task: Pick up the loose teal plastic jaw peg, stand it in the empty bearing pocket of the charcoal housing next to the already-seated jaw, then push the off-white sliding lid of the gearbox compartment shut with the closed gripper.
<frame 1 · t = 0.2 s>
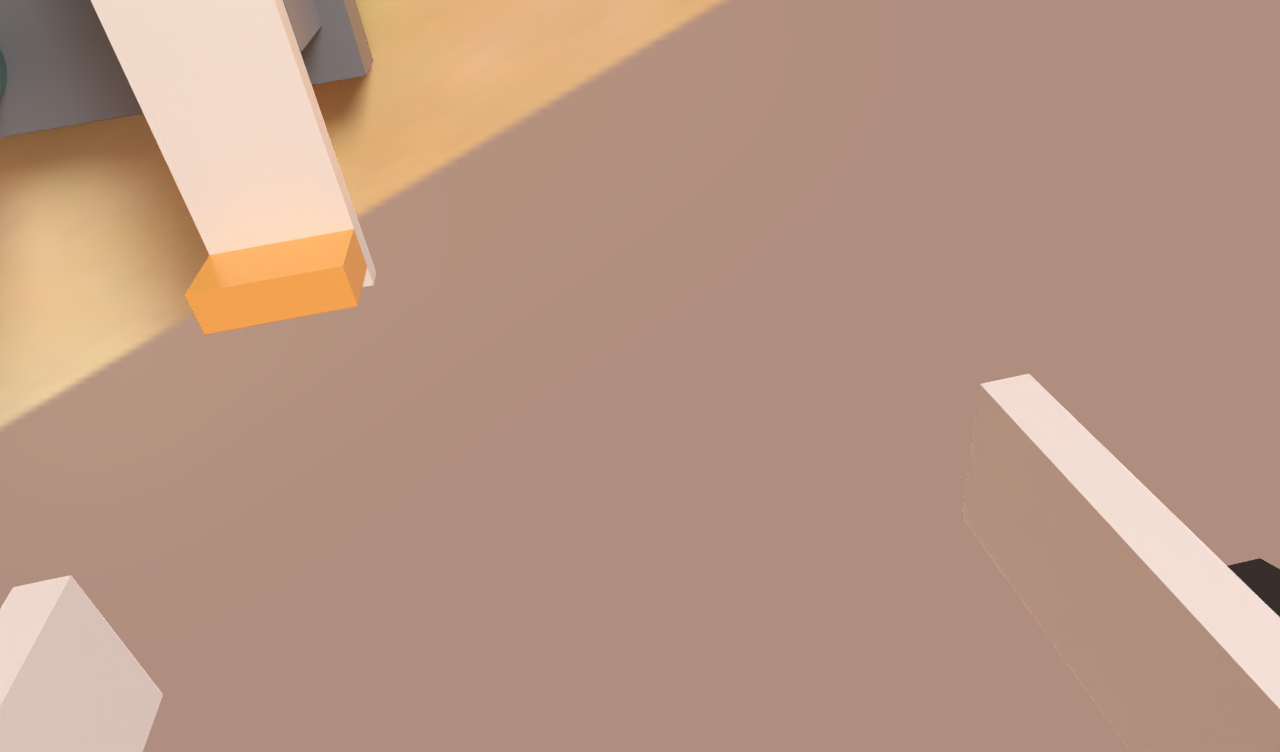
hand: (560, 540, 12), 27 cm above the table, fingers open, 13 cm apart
lid: (204, 81, 24), point 9 cm above the table, slide at 8.0 cm
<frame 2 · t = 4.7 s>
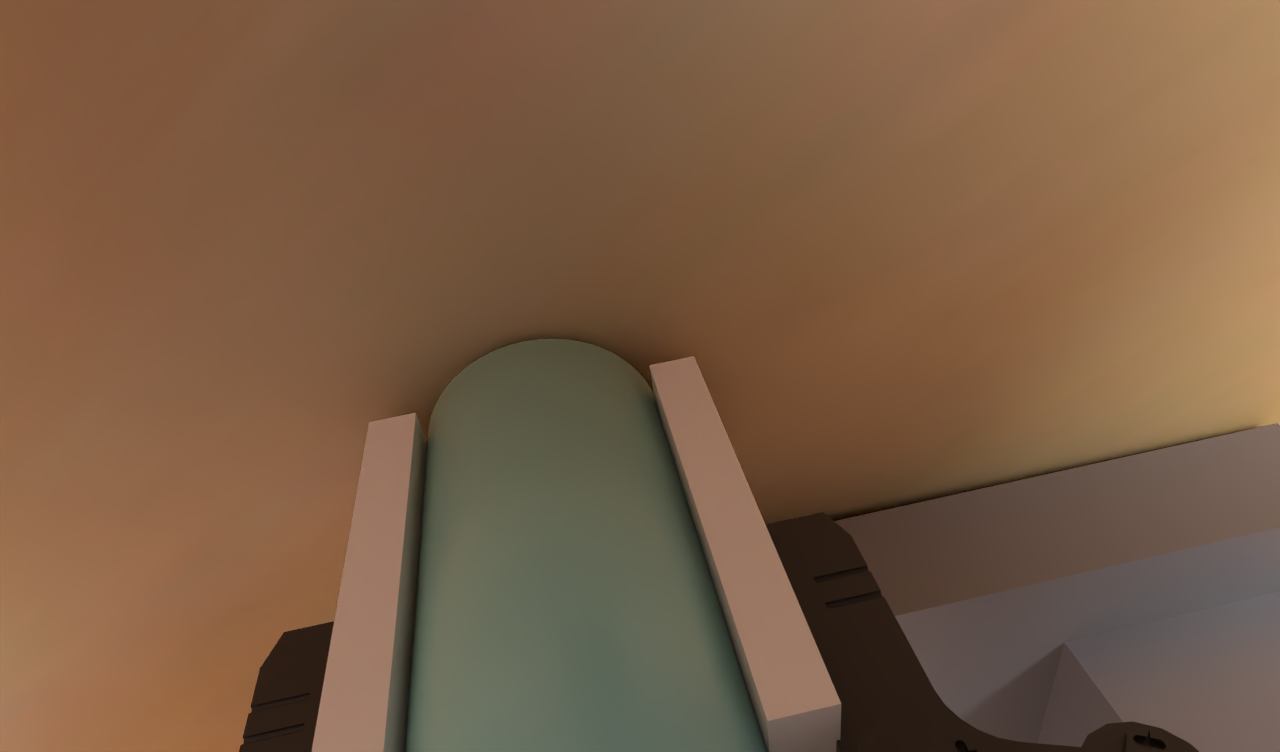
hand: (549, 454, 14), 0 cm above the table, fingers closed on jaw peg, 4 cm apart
jaw peg: (547, 437, 14), on the table, touching gripper
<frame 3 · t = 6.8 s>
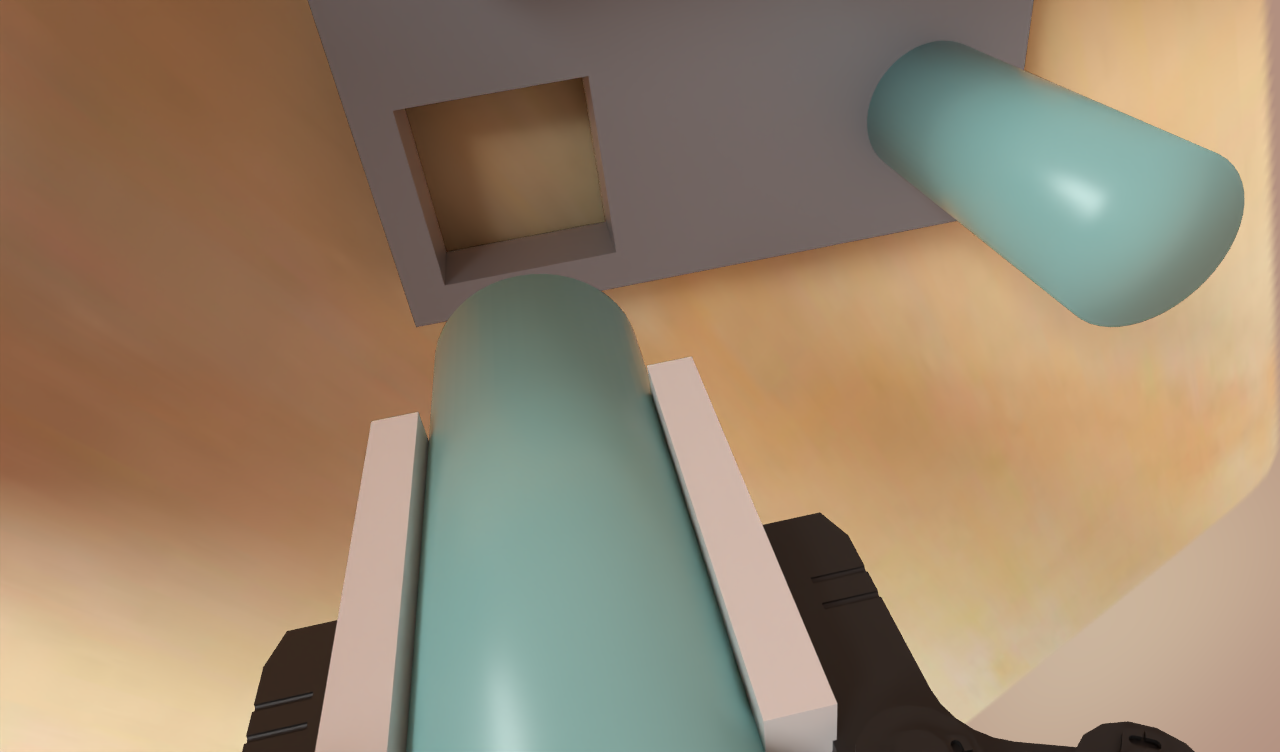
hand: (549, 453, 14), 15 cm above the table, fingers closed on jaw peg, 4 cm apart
jaw peg: (538, 365, 16), point 12 cm above the table, touching gripper
when the fingers open (3 cm above the table, at t = 9.4 s): jaw peg stays where it is, resting in housing.
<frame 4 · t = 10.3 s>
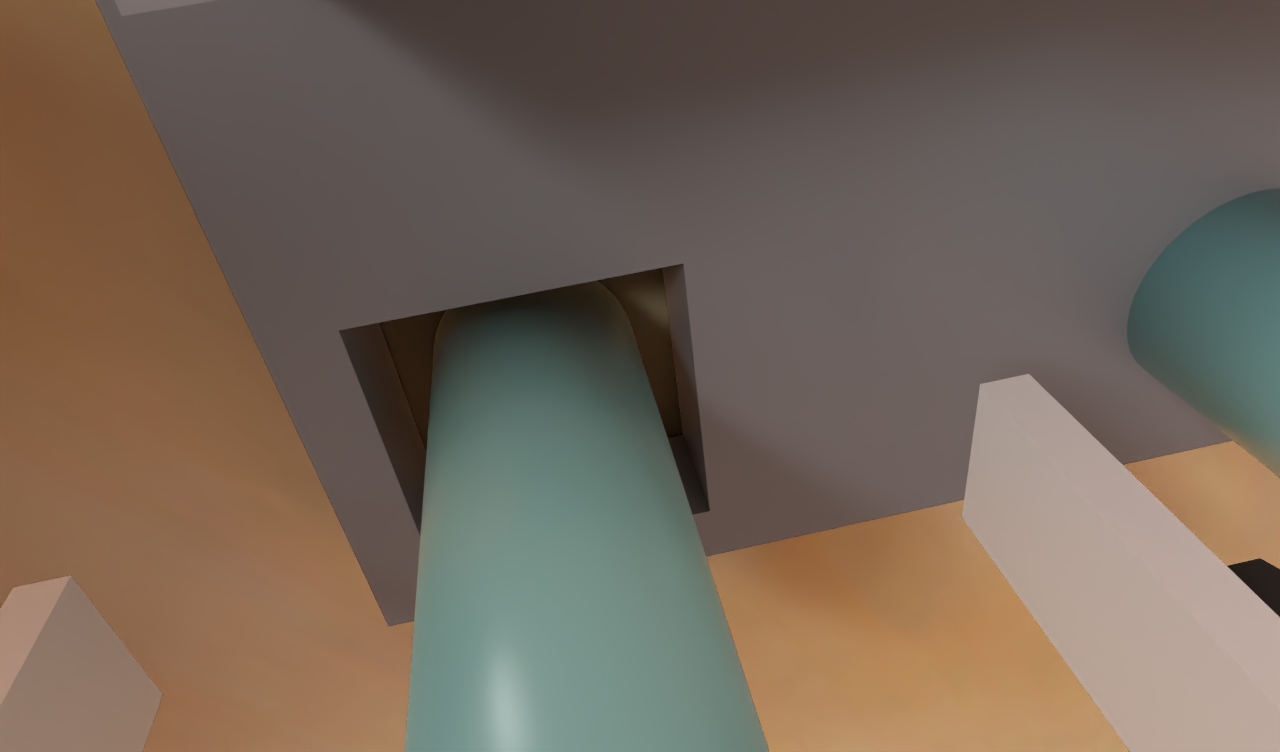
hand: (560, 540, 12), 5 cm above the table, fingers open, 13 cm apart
jaw peg: (536, 353, 16), resting in housing
housing: (823, 48, 14), on the table
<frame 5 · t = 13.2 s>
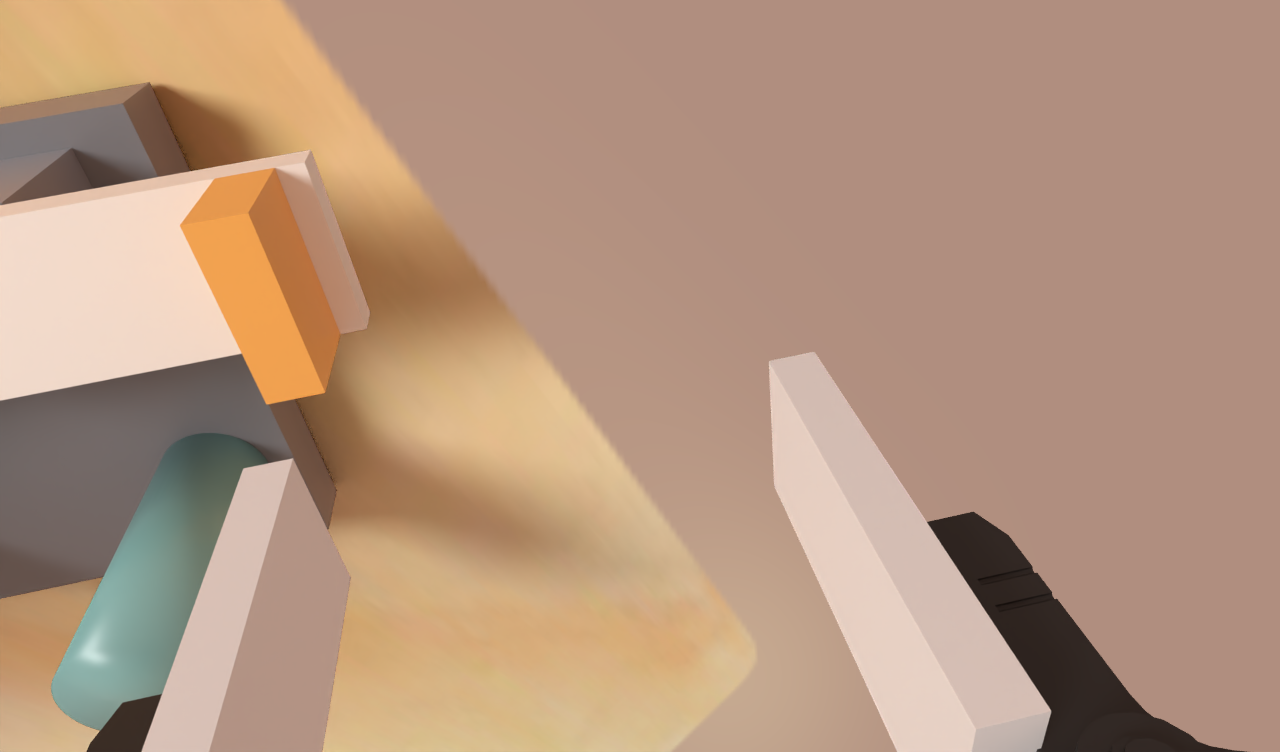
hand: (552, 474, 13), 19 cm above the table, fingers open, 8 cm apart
lid: (16, 326, 21), point 9 cm above the table, slide at 8.0 cm
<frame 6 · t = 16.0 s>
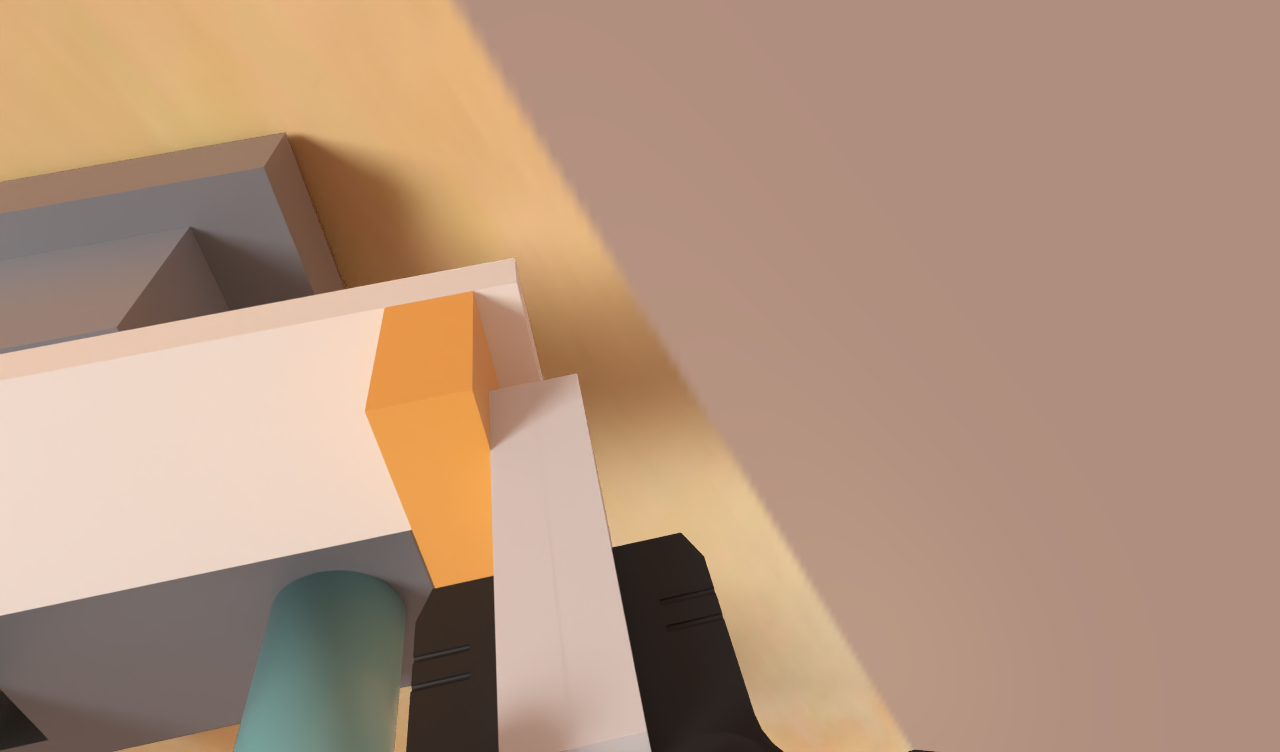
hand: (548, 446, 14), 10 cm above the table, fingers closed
housing: (57, 490, 24), on the table
lid: (87, 525, 14), point 9 cm above the table, slide at 7.1 cm, touching gripper
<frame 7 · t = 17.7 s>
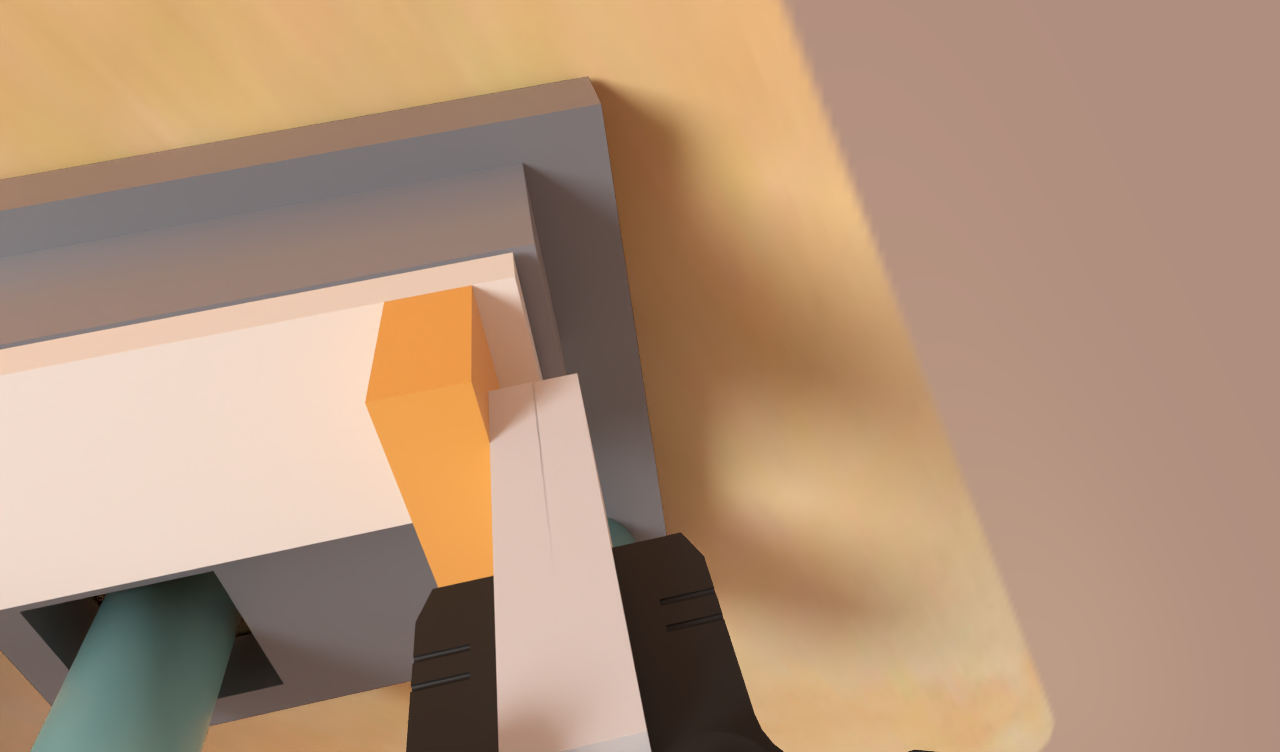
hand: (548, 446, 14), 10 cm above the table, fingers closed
jaw peg: (183, 587, 27), resting in housing
housing: (312, 436, 25), on the table
lid: (89, 518, 14), point 9 cm above the table, slide at -0.4 cm, touching gripper
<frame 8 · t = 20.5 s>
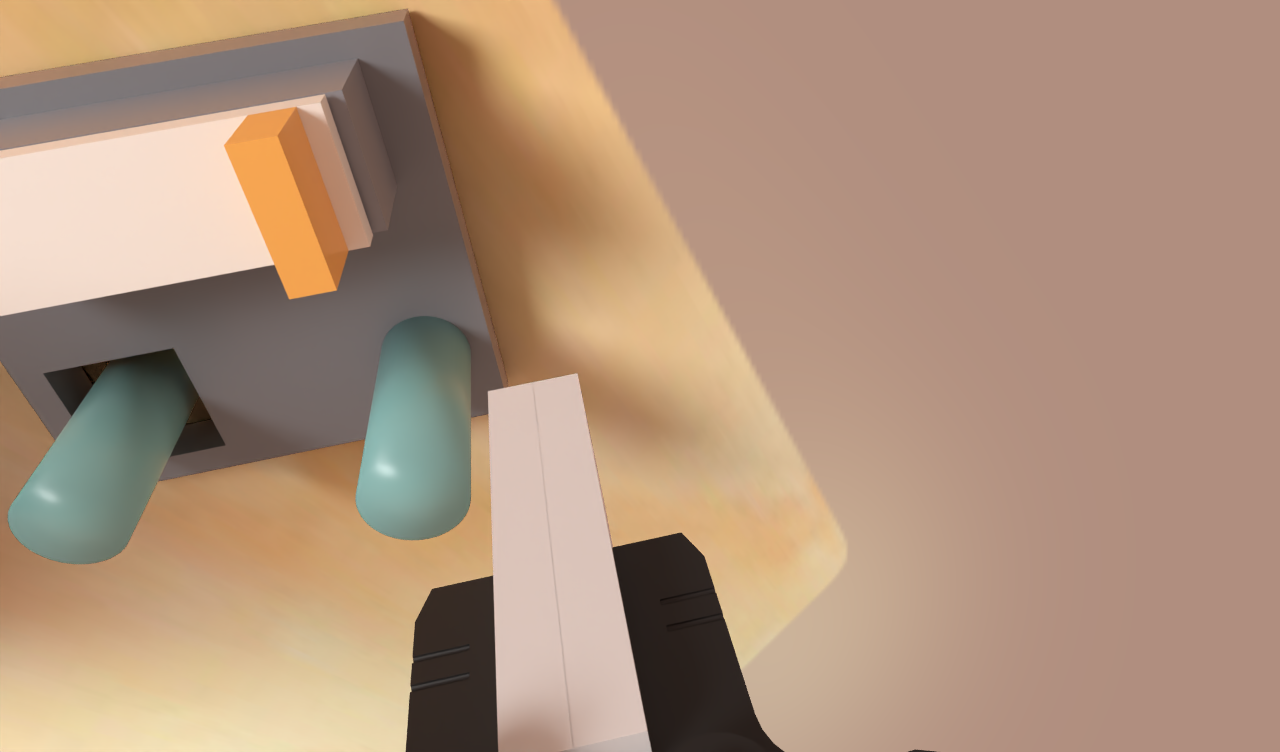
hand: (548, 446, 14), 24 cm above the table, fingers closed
jaw peg: (155, 379, 39), resting in housing
housing: (241, 262, 36), on the table
lid: (87, 235, 26), point 9 cm above the table, slide at -0.5 cm
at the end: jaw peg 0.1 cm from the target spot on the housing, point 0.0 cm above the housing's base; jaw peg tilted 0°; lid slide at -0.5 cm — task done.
